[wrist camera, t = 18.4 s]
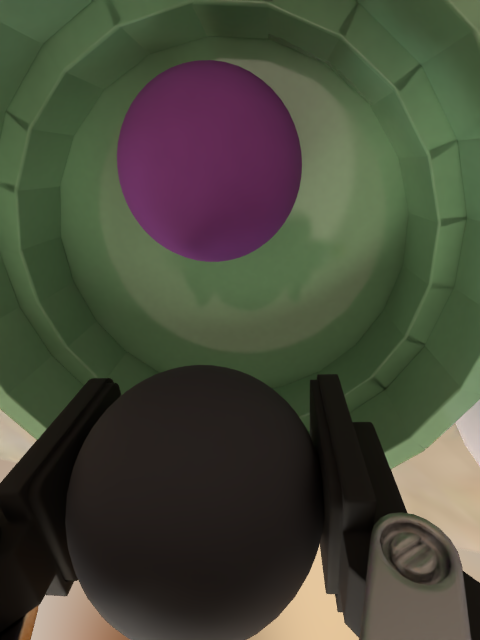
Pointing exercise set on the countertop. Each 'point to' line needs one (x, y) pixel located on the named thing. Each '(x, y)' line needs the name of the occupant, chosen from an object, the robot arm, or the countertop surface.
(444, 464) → the countertop surface
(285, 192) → the purple ball
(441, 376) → the green bowl
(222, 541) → the charcoal ball
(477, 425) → the soap bottle
